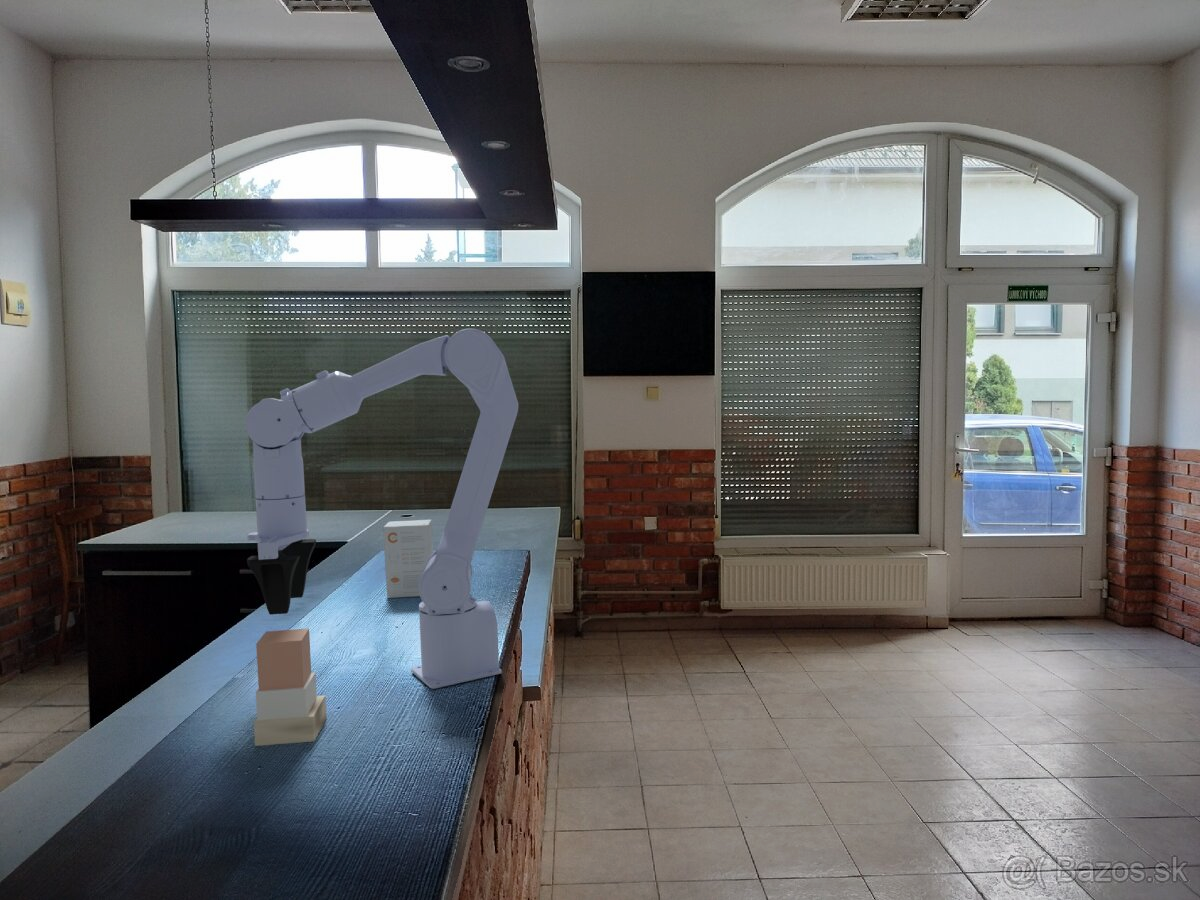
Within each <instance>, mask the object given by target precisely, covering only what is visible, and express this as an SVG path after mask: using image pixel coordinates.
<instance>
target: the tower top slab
mask: <svg viewBox="0 0 1200 900" xmlns="http://www.w3.org/2000/svg"><path fill="white" fill-rule="evenodd" d="M317 694H318V693H317V681H316V671H315V672H311V674H310V676H309V678H308V680H307V682H306V684H305V686H304V687H296V688H284V689H272V690H260V691H259V688H258V689H256V691H255V705H256V717H257V720H266V719H279V718H292V717H305V716H307V715H308V714H309V712H310V710H311V708H312V706H313V705H314V703H315V701H316V699H317V696H318V695H317Z"/></svg>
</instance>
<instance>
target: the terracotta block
mask: <svg viewBox="0 0 1200 900" xmlns="http://www.w3.org/2000/svg"><path fill="white" fill-rule="evenodd" d="M310 642H311V641H310V628H309V627H308V628H297V629H296V628H294V629H283V630H269V631H268V630H267V631H265V632H264V634H263V635H262V636H261V637H260V638H259V639H258V641H257V642H256V643H255V647H256V648H255V650H256V659H257V660H256V665H257V681H258V689H259V691H260V690H272V689H284V688H296V687H304V686H305V684H306V682H307V680H308V678H309V676H310V674H311V673H312V661H311V659H312V658H311V645H310V644H311V643H310Z"/></svg>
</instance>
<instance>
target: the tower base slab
mask: <svg viewBox="0 0 1200 900" xmlns="http://www.w3.org/2000/svg"><path fill="white" fill-rule="evenodd" d="M326 698H327V697H326V695H324V694H323V695H317V699H316V701H315V703H314V705H313V706H312V708H311V710H310V712H309V714H308V715H307V716H305V717H292V718H279V719H266V720H257V716H255V718H254V719H253V731H254V733H253V735H254V746H255V747H257V746H258V747H259V746H270V745H281V744H283V745H285V744H296V743H307V742H308V743H309V742H311V743H312V742H315V741H316V740H317V738H316V737H318V735H319V734H320V732H321V730H322V728H323V726H324V725H325V722H326V720H327V702H326V701H327V700H326ZM318 733H319V734H318Z"/></svg>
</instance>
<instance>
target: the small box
mask: <svg viewBox="0 0 1200 900" xmlns="http://www.w3.org/2000/svg"><path fill="white" fill-rule="evenodd" d="M382 531H383V547H384V562H385V563H384V564H385V565H384V566H385V567H384V568H385V582H386V584H385V585H386V596H387V599H393V598H394V599H396V598H397V599H398V598H409V597H413V598H414V597H420V595H419V588H418V586H419V581H420V578H421V576H422V574H423V572H424V567H425V564H426V562H427V560H428V559H429V557H430V556H431V555H432V554H433V553H434V552H435V551H434V550H435V549H434V536H433V535H434V533H433V519H417V520H394V521H388V522H387V523H386V524H385V525H384V526H383V527H382Z"/></svg>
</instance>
